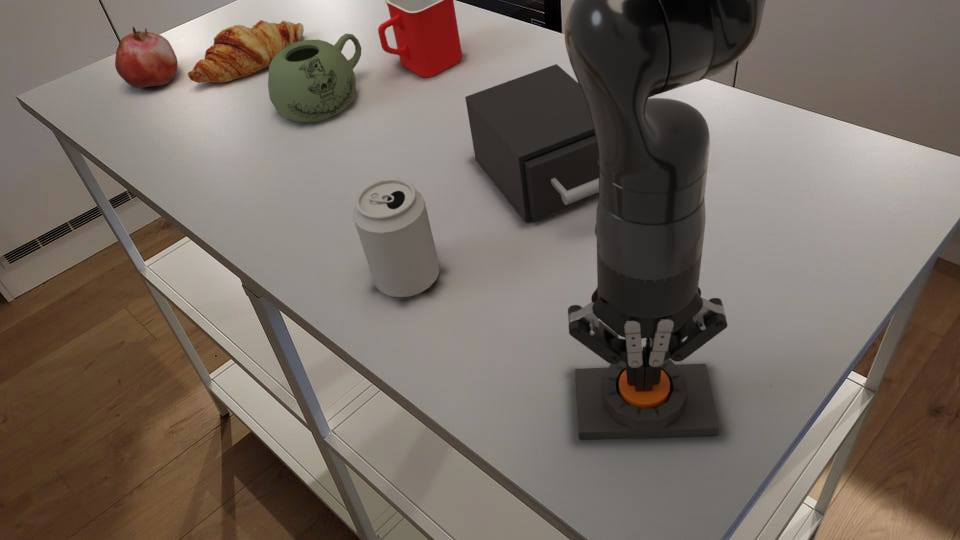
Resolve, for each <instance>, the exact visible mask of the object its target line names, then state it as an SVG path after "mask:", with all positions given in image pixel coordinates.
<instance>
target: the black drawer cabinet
mask: <svg viewBox="0 0 960 540" xmlns="http://www.w3.org/2000/svg"><path fill="white" fill-rule="evenodd" d="M464 98H465V104H466V110H467V117H468V123H469V129H470V135H471V140H472V147H473V153H474V159H475V162H476V163H477V164H478V166H479V167H480V168H481V169H482V170H483V172H484V174H486V175H487V177H488V178H489V179H490V180H491V182H492V183H493V184H494V185H495V187H496V188H497V189H498V191H499V192H500V193H501V195H503V196H504V198H505V199H506V200H507V201H508V203H509V204H510V205H511V206H512V208H513V209H514V210H515V212H516V213H517V214H518V215H519V217H520V218H521V219H522V220H523V221H524V223H525V224H528V223H531V222H533V221H534V220H533V219H532V218H531V216H530V210H529V201H528V191H527V182H526V173H525V164H524V162H525V161H526V160H528V159H531V158H533V157H536V156H539V155H541V154H544V153H546V152H549V151H552V150H554V149H557V148H559V147H562V146H565V145H567V144H570V143H572V142H575V141H578V140H580V139H583V138H585V137H588V136H590V135H593V134H595V133H594V129H593V125H592V121H591V118H590V114H589V111H588V108H587V104H586V102H585V99H584V96H583V93H582V91H581V88H580V86H579V83H578V81H577V80H576V79H574V78H573V76H571V75H570V74H569V73H567V71H566V70H564V69H563V68H562V67H560V65H559V64H557V63H555V64H552V65H550V66H547V67H544V68H541V69H539V70H536V71H533V72H531V73H527V74H525V75H522V76H520V77H517V78H514V79H511V80H508V81H506V82H502V83H500V84H496V85H495V86H491V87H489V88H486V89H483V90H480V91H478V92H477V91H476V92H475V93H472V94H469V95H466V96H465V97H464Z"/></svg>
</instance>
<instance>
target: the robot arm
mask: <svg viewBox="0 0 960 540" xmlns="http://www.w3.org/2000/svg"><path fill="white" fill-rule="evenodd" d="M765 4H766V0H573V2H572V3H571V5H570V8H569V10H568V13H567V16H566V19H565V20H566V21H565V24H564V44H565V50H566V53H567V57H568V60H569V63H570V66H571V68H572V71H573V73H574V76H575V79H576V82H578V83H579V86H580V88H581V91H582V93H583V96H584V99H585V102H586V104H587V108H588V111H589V114H590V118H591V121H592V125H593V129H594V133H595V136H596V141H597V146H598V153H599V196H598V201H597V207H596V214H595V216H596V217H595V226H594V234H595V237H596V238H595V239H596V266H597V267H596V271H597V273H596V275H597V276H596V277H597V286H596V288H595V290H594V291H593V292H592V294H591V298H590V300H591V302H590V303H588V304H586V305H585V306H583V307H582V306H581V305H580V304H572V305H570V306H569V307H568V308H567V319H568V320H567V323H568V334H569V336H571V337H572V338H573V339H575V340H576V341H578V342H579V343H580V344H582V345H583V346H584V347H586V348H587V349H588V350H590V351H591V352H592V353H594V354H595V355H597V356H598V357H599V358H601V359H602V360H604V361H605V362H607V363H608V364H609V365H610V364H617V363H619V362H620V361H623V362H625V363H626V376H627V383H628V385H629V386H635V391H652V388H653V385H658V384H659V382H660V380H661V365H663V363H664V361H665V360H667V359H670V360H671V361H672V362H683V361H684V360H686V359H687V358H688V357H690V356H691V355H692V354H694V353H695V352H696V351H698V350H699V349H700V348H702V347H703V346H704V345H706V344H707V343H708V342H709V341H711V340H713V338H715V337H716V336H718V335H719V334H721V333H722V332H723V331H724V330H725V329H727V327H728V321H727V315H726V312H725V308H724V304H723V301H722V299H721V298H719V297H712V298H710V299H706V298H704V297H702V290H701V288H700V287H699V284H700V275H701V265H702V256H703V249H704V239H705V232H706V231H705V229H706V218H707V217H706V203H705V198H706V197H705V195H706V187H707V186H706V185H707V178H708V177H707V175H708V168H709V158H710V147H711V146H710V145H711V140H710V138H711V137H710V135H711V134H710V130H709V126H708V123H707V120H706V119H705V117H704V115H703V114H702V113H701V112H700V111H699V110H698V109H697V108H695V107H694V106H692V105H691V104H689V103H686V102H684V101H680V100H678V99H672V98H664V97H663V98H662V97H655V96H657V95H661V94H663V93H666V92H669V91H673V90H675V89H678V88H681V87H684V86H687V85H690V84H694V83H696V82H700V81H702V80H706V79H708V78H713V77H714V76H716V75H720V74H721V73H723V72H724V71H727V70H728V69H730V68H731V67H732V66H733V65H735V64H736V63H737V62H739V60H740V59H741V58H742V57H743V56H745V54H746V53H747V52H748V51H749V50H750V49H751V47H752V45H753V44H754V43H755V41H756V39H757V37H758V35H759V31H760V28H761V25H762V19H763V14H764V10H765ZM619 336H620V337H622V338H619ZM643 339H645V346H642V345H643V344H642V340H643ZM684 339H685V340H684Z"/></svg>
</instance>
